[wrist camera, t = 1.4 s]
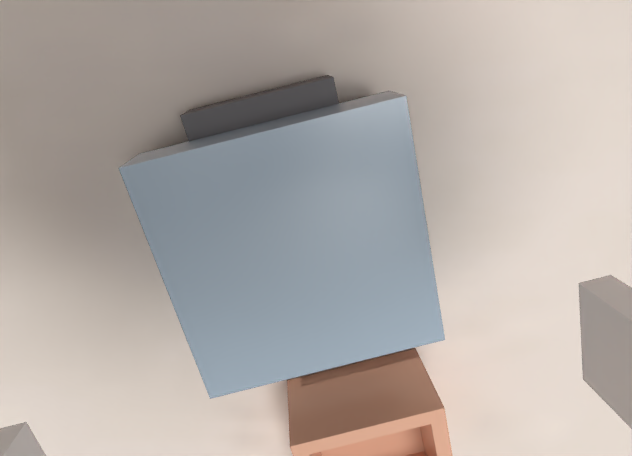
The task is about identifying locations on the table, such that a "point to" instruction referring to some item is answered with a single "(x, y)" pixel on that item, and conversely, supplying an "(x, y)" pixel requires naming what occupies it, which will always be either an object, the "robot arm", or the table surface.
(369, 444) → the open box
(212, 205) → the blue square slab
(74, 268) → the table surface
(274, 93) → the block
